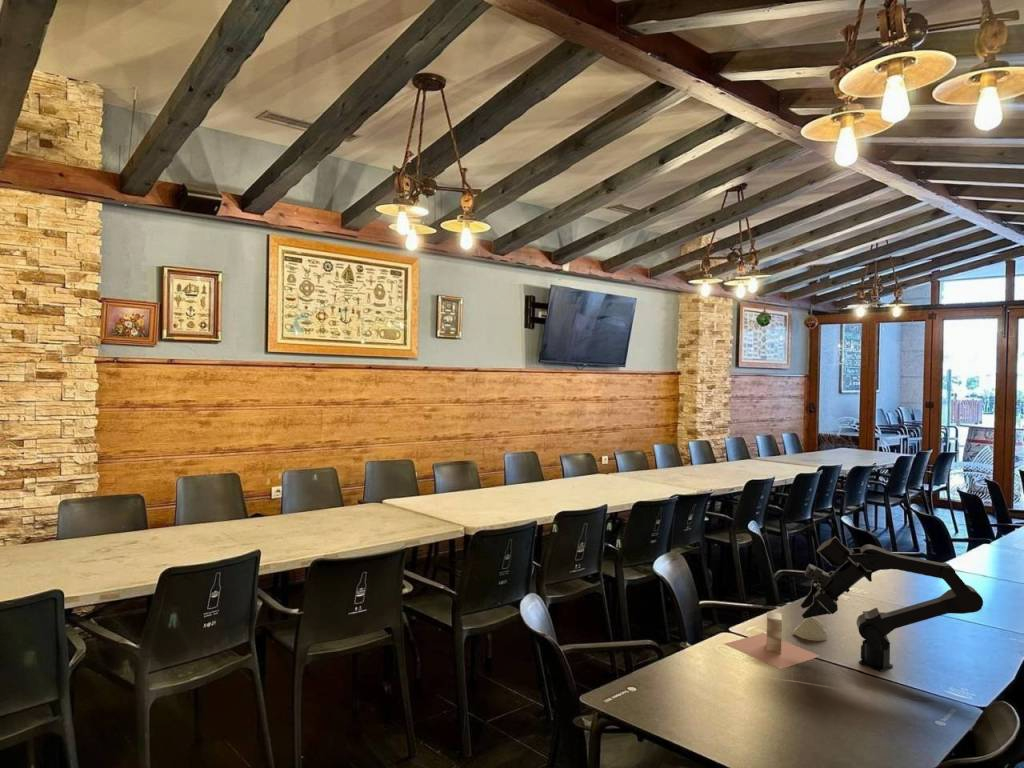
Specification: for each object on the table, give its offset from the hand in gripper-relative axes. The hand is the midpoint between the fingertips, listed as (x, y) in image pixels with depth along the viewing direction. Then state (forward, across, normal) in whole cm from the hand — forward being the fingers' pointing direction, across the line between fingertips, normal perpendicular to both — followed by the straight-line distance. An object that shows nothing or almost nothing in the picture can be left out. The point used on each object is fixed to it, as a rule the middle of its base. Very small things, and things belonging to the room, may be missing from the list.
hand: (802, 612), depth 200 cm
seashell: (+7, -16, +11) cm, 21 cm away
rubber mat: (+15, +1, +3) cm, 15 cm away
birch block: (+14, 0, +3) cm, 14 cm away
